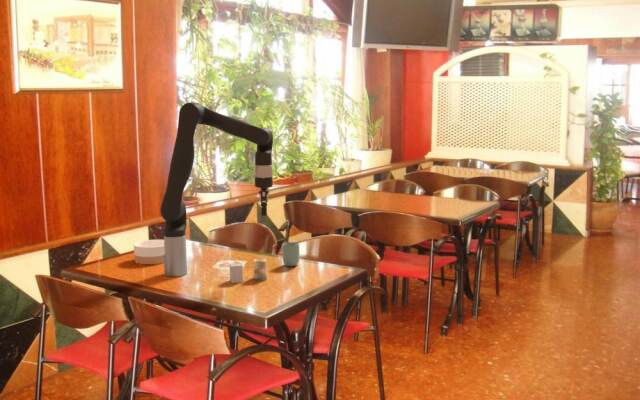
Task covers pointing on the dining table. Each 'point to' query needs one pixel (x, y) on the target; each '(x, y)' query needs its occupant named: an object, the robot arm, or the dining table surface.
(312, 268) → the dining table surface
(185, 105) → the robot arm
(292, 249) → the cup
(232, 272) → the grey block
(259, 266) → the blue canister
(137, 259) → the bowl
